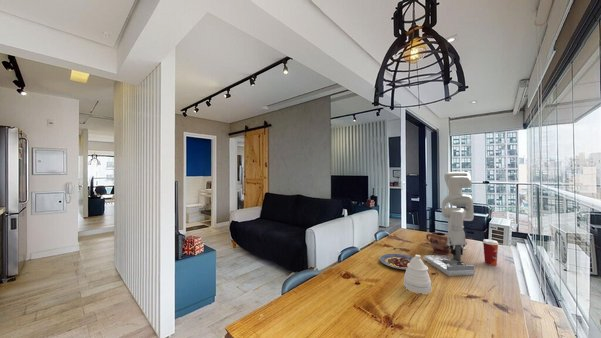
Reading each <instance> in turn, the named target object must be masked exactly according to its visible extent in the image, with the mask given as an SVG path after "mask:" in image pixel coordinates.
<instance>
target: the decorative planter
mask: <svg viewBox="0 0 601 338" xmlns="http://www.w3.org/2000/svg"><path fill="white" fill-rule="evenodd" d="M425 236H426V237H425V238H426V240H427V241H428V242H429V243H430V245H431V246H432V249H433V251H434V252H435V253H436V254H440V255H447V254H449V253H450V248H449V246H448V245H446V244H447V239H448V233H447V234H446V233H443V232H439V231H435V232H432V233H427V234H426V235H425ZM429 237H430V238H429ZM450 245H451V243H450Z"/></svg>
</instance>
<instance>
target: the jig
mask: <svg viewBox="0 0 601 338" xmlns="http://www.w3.org/2000/svg"><path fill="white" fill-rule="evenodd" d="M423 261H424V262H426V261H427V263H428V264H429V263H430V264H429V265H431V266H433V267H434V268H435V269H437V270H439V271H440V272H442V273H444V274H445V275H446V276H449V277H455V276H457V277H459V276H475V265H474V264H466V263H465V262H464V261H460V260H455V259H453V257H451V256H449V255H447V254H433V255H431V254H430V255H427V254H426V255H423Z"/></svg>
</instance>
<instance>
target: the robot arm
mask: <svg viewBox="0 0 601 338" xmlns="http://www.w3.org/2000/svg"><path fill="white" fill-rule="evenodd" d="M443 176H444V182H445V184H446V187H447V190H448V195H446V196H445V198H444V199H443V200H442V202H441V215H442V217H444V218H446V219H447V235H448V239H447V244H446V245H448V246H449V249H450V255H452V256H453V255H456V250H455V245H461V256H463V251H464V250H466V246H467V244H468V242H467V241H466V233H465V230H464V228H465V226H464V221H467V222H472V221H473V220H474V217H475V214H474V198H473V197H472V195H470V194H463V188H471V187H472V185H473V180H472V176H471V174H470V172H467V171H466V172H465V171H463V172H462V171H461V172H460V171H459V172H458V171H456V172H455V171H451V172H446V173H444V175H443ZM447 204H448V205H450V206H452V207H449V206H448V207H447ZM462 207H463V208H462ZM450 243H451V245H450Z"/></svg>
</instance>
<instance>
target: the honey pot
mask: <svg viewBox="0 0 601 338" xmlns="http://www.w3.org/2000/svg"><path fill="white" fill-rule="evenodd" d="M412 257H413V258H412V260H411V261H410V263H408V264H407V269H405V272H404V273H405V274H404V275H403V287H404V286H405V287H406V288H407V289H408V290H410V291H413V292H416V293H422V294H426V293H430V292H431V293H432V280H431V277H430V274H429V272H428V271H429V267H428V266H427V264H425V263H424V260H422V259H421V258H422V257H421V255H420V254H415V256H412ZM405 287H404V288H405ZM407 289H406V290H407ZM408 290H407V291H408ZM410 291H409V292H410ZM431 293H430V294H431ZM426 295H427V294H426Z"/></svg>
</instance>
